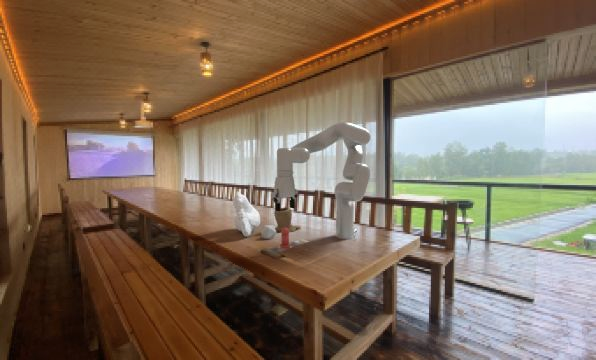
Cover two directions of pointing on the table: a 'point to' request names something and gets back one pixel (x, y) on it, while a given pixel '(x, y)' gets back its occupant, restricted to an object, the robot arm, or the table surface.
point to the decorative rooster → (245, 215)
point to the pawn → (285, 238)
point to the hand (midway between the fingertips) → (285, 209)
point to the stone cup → (285, 220)
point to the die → (268, 232)
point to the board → (274, 251)
